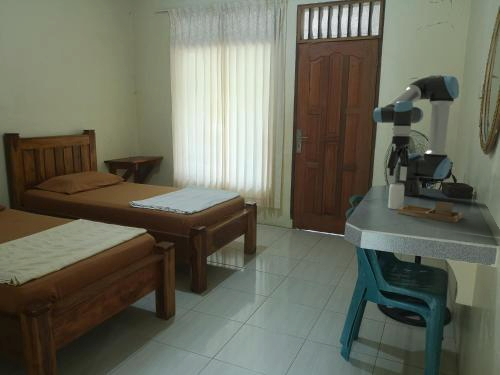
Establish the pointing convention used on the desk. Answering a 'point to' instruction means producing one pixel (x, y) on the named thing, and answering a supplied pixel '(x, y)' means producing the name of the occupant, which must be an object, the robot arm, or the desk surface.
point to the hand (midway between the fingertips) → (397, 181)
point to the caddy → (428, 213)
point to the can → (396, 196)
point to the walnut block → (444, 208)
